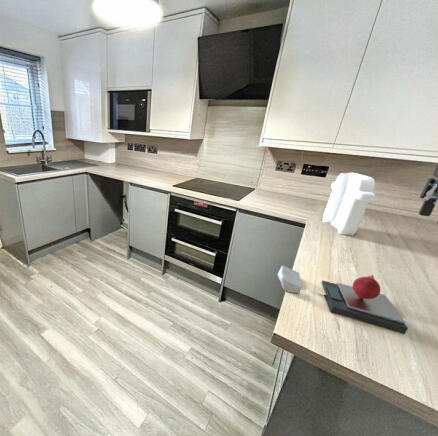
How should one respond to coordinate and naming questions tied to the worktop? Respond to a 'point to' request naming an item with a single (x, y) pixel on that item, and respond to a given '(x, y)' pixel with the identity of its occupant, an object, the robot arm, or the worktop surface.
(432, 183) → the robot arm
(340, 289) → the scale plate
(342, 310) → the scale
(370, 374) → the worktop surface
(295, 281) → the light grey faceted block
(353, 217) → the white stepped block
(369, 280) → the onion
